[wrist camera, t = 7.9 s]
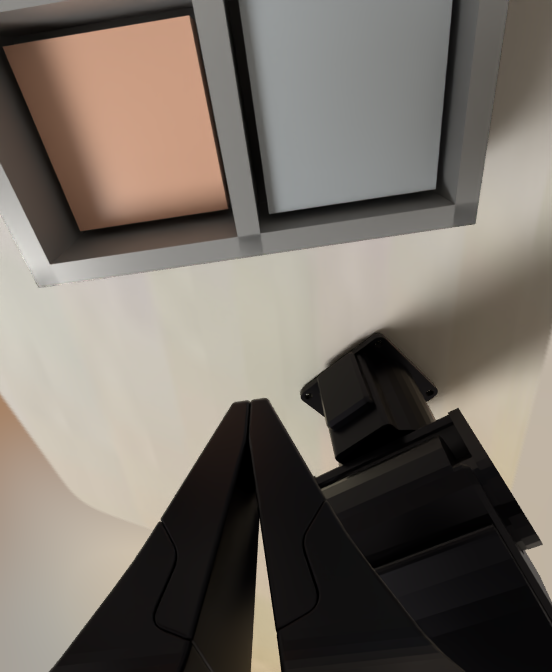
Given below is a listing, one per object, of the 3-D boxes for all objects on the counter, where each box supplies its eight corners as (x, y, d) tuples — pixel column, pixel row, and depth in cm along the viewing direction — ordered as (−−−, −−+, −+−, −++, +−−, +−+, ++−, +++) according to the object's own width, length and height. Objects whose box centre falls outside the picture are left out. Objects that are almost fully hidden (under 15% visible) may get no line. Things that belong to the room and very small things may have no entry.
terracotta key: (229, 199, 17) (227, 209, 15) (93, 220, 17) (80, 231, 16) (195, 21, 13) (189, 15, 12) (25, 49, 14) (2, 46, 12)
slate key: (420, 180, 15) (435, 188, 14) (267, 202, 15) (269, 213, 14) (434, -27, 12) (455, -40, 11) (239, 6, 12) (238, -2, 11)
